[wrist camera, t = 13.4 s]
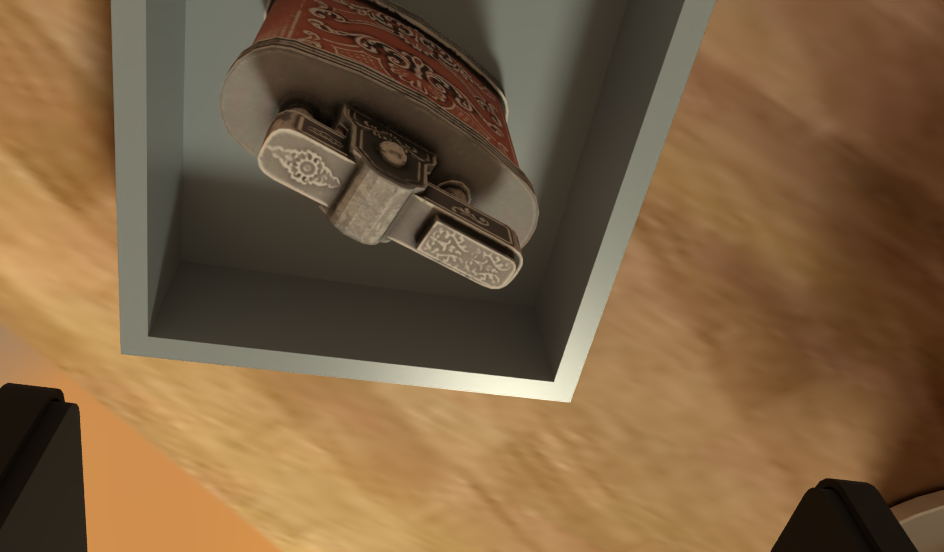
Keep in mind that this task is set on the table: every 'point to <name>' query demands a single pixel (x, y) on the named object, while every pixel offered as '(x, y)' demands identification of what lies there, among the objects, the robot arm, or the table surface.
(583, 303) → the bin
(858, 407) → the table surface
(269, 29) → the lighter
